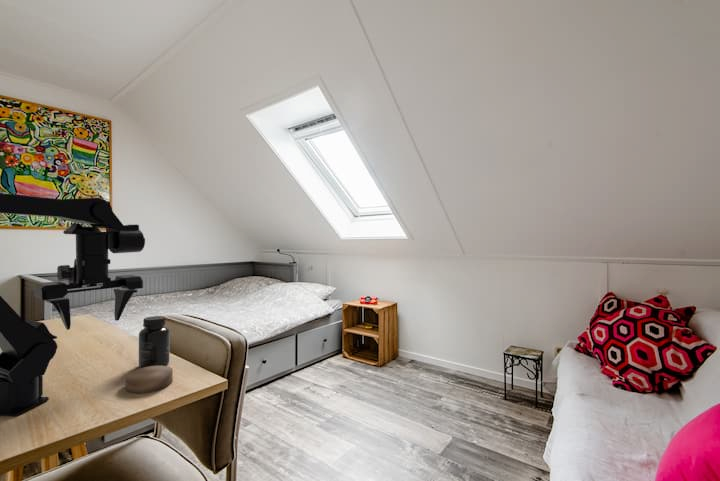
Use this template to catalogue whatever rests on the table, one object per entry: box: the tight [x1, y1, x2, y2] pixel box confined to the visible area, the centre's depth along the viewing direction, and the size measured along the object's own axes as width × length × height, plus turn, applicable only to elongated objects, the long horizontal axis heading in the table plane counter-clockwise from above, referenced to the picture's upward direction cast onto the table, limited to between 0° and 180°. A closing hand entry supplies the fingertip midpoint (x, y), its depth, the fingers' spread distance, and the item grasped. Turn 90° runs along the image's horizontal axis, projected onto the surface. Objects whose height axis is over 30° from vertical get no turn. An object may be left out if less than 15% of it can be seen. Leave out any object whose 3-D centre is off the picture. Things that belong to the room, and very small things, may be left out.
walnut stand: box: [124, 365, 174, 394], centre depth 80 cm, size 9×9×2 cm
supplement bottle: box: [138, 315, 171, 369], centre depth 91 cm, size 7×7×12 cm
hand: (93, 324), depth 80 cm, fingers open, 9 cm apart
